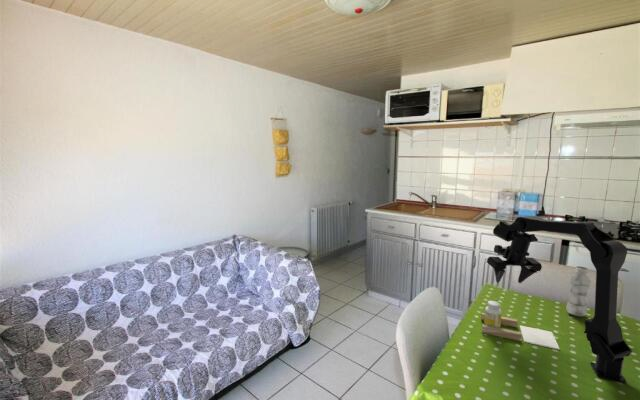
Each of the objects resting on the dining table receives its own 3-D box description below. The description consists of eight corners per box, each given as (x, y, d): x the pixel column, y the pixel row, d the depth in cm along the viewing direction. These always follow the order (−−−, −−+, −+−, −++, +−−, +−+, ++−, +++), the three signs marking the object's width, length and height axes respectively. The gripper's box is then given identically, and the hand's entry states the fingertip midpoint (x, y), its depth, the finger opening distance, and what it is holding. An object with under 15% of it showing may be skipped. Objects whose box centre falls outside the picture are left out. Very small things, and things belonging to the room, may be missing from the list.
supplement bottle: (496, 323, 118) (498, 300, 116) (503, 331, 112) (505, 307, 111) (481, 323, 118) (483, 299, 117) (487, 331, 113) (489, 306, 111)
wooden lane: (520, 341, 107) (521, 334, 106) (482, 332, 112) (482, 326, 112) (516, 325, 116) (517, 319, 116) (481, 318, 122) (481, 312, 121)
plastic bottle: (562, 312, 126) (567, 266, 123) (571, 309, 129) (577, 264, 126) (580, 320, 120) (587, 272, 117) (589, 316, 123) (596, 269, 120)
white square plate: (559, 349, 102) (559, 348, 102) (524, 341, 106) (524, 340, 106) (551, 332, 112) (551, 331, 112) (519, 326, 116) (519, 325, 116)
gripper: (527, 238, 124) (516, 271, 129) (483, 237, 122) (474, 270, 127) (548, 252, 113) (536, 287, 118) (500, 250, 112) (490, 286, 117)
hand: (508, 282), depth 121 cm, fingers open, 9 cm apart
